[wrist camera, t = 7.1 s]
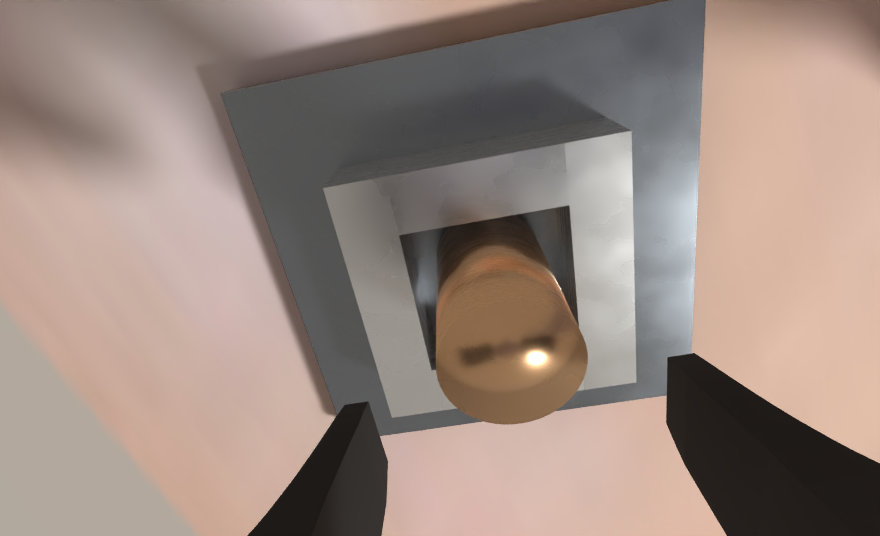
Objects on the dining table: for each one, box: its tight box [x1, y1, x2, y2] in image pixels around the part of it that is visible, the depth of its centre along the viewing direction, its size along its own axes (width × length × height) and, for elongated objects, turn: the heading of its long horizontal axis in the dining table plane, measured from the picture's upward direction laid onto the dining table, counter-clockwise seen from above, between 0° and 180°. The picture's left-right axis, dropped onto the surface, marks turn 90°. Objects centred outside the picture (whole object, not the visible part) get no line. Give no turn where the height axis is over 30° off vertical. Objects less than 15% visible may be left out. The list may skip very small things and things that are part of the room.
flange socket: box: [221, 0, 706, 436], centre depth 19 cm, size 16×16×4 cm
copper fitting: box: [436, 215, 588, 424], centre depth 16 cm, size 4×4×7 cm
